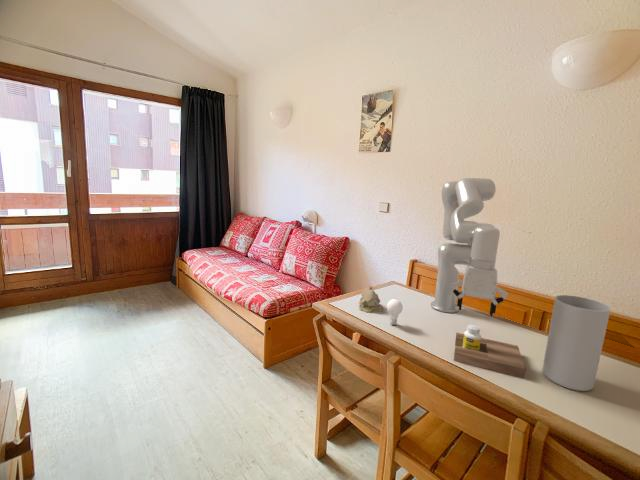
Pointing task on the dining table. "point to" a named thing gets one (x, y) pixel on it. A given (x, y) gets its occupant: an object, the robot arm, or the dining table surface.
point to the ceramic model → (369, 301)
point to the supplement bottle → (472, 338)
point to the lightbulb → (394, 310)
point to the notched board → (491, 356)
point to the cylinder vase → (575, 341)
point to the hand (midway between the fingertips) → (475, 311)
